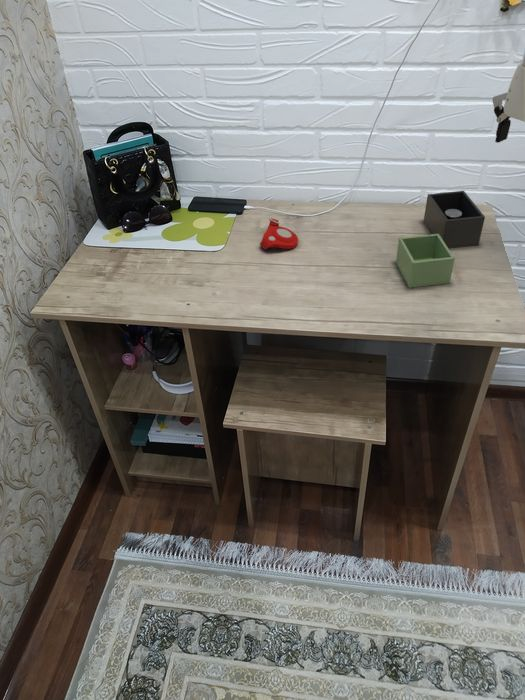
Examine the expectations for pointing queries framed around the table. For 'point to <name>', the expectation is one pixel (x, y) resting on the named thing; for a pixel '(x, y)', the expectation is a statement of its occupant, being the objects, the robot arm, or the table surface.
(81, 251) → the table surface
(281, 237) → the tracker holder
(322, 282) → the table surface
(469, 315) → the table surface
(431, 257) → the left bin
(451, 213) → the steel cylinder
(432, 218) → the right bin
